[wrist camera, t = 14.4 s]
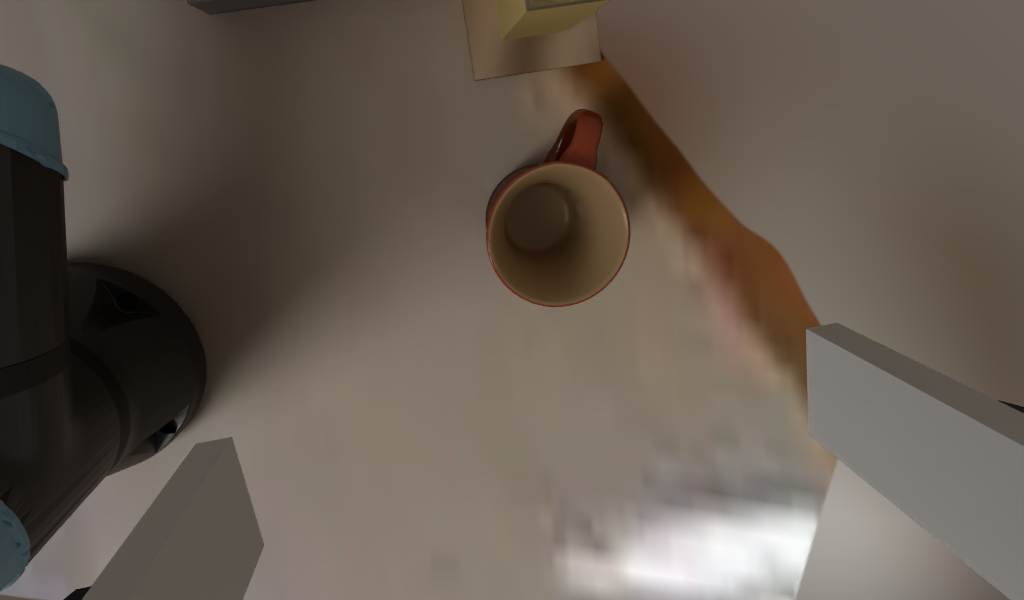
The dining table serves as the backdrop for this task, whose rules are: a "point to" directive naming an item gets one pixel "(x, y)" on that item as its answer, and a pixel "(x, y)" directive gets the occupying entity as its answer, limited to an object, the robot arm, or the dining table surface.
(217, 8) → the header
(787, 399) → the dining table surface
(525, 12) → the plug
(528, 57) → the pad
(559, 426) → the dining table surface
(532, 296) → the mug
